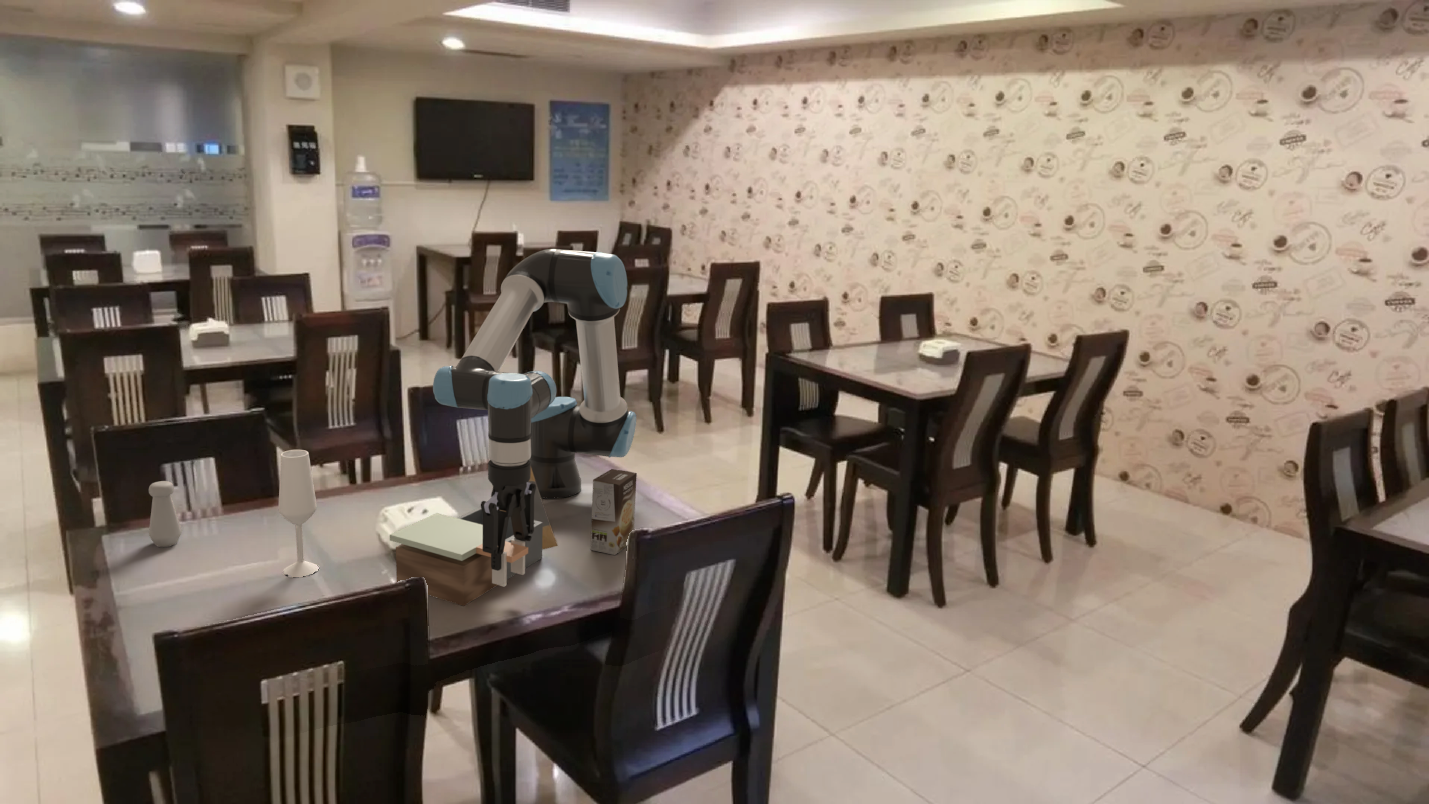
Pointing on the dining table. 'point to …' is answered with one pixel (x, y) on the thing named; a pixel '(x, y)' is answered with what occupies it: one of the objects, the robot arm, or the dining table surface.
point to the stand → (446, 573)
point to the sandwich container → (542, 518)
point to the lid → (451, 538)
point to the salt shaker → (163, 515)
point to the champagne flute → (297, 503)
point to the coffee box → (612, 510)
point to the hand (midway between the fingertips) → (508, 578)
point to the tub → (532, 545)
